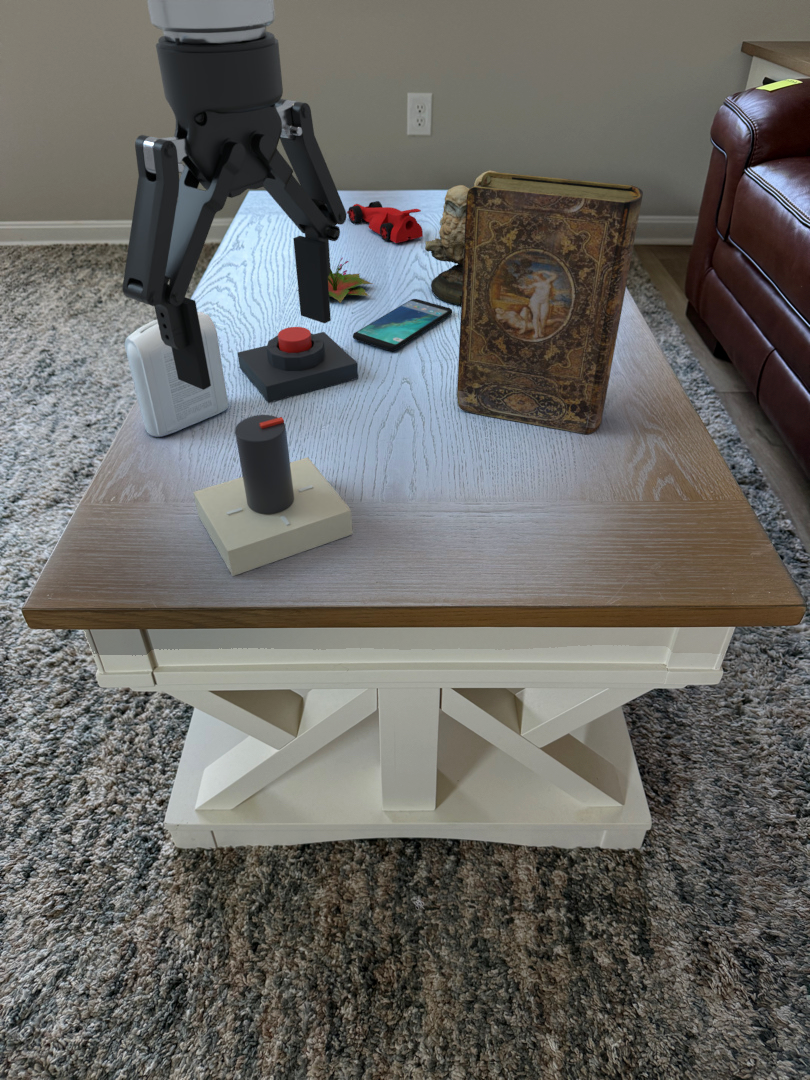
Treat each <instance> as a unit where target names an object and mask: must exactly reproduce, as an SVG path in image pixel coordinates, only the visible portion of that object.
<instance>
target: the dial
mask: <svg viewBox="0 0 810 1080" xmlns="http://www.w3.org/2000/svg"><path fill="white" fill-rule="evenodd" d="M286 427H287V426H286V423H285V420H284V418H283V417H282V416H280V417H277V416H274V415H270V414H258V415H252V416H248V417H246V418H244V419H242V420H241V421H240V422H238V423H237V424H236V426H235V429H234V434H235V438H236V439H235V440H236V446H237V451H238V455H239V456H238V458H239V463H240V464H239V465H240V469H241V475H242V477H243V481H244V487H245V493H246V499H247V504H248V506H249V508H250V509H251V510H253V511H255V512H257V513H260V514H275V513H279V512H282V511H284V510H286V509H287V508H289V507H290V506H291V505H292V503H293V501H294V492H293V484H292V476H291V467H290V462H291V460H290V459H291V458H290V451H289V444H288V435H287V428H286Z"/></svg>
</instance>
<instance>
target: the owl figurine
mask: <svg viewBox="0 0 810 1080" xmlns="http://www.w3.org/2000/svg"><path fill="white" fill-rule="evenodd" d="M487 172H496V171H494V170H492V169H489V170H487V171H484V172H482V173H481V174H479V176H478V177H476V178H475V180H474V184H473V186H481V181H482V177H483V175H484V174H485V173H487ZM469 189H470V187H467V186H466V185H463V184H459V185H455V186H453V187H451V188H449V189H447V191H446V194H445V197H444V204H443V211H442V213H441V214H442V217H441V219H439V225H440V228H439V231H438V234H439V235H438V236H439V237H438V238H436V237H435V238H434V239H432V240H426V241H425V242H424V244H425V246H424V249H425V251H426V252H430V254H431V256H432V257H433V258H434V259H435V260H437V261H439V262H448V263H454V265H453V266H451V267H450V268H449V269H446V270H444V271H442V272H440V273H438V275H437V276H435V277H434V278H433V279H432V281H431V282H430V286H431V287H430V288H431V292H432V294H433V295H434V296H435V298H438V300H439V301H442V302H444V303H448V304H454V305H455V306H461V301H462V281H463V261H464V240H465V220H466V202H467V193H468V191H469Z"/></svg>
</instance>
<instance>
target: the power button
mask: <svg viewBox="0 0 810 1080" xmlns="http://www.w3.org/2000/svg"><path fill="white" fill-rule="evenodd" d="M311 333H312V332H311V330H310V329H308V328H306V327H302V326H289V327H286V328H283V329H281V330H280V331H278V333H277V335H278V341H279V349H280V350H281V351H284V352H287V353H299V352H303V351H307V350H309V349H310V348H311V347H312V342H311Z"/></svg>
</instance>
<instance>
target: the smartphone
mask: <svg viewBox="0 0 810 1080" xmlns="http://www.w3.org/2000/svg"><path fill="white" fill-rule="evenodd" d="M452 314H453V309H452V308H450V307H447V306H444V305H440V304H437V303H433V302H429V301H426V300H422V299H418V298H411V299H409V300H408V301H406V302H405V303H403V304H401V305H399V306H397V307H396V308H394V309H393V310H391V311H389V312H387V313H386V314H384V315H382V316H380V317H379V318H377V319H376V320H374V321H372V322H371V323H369V324H367V325H366V326H364V327H362V328H360V329H359V330H357V331H355V332H354V333H352V337H353V340H355V341H357V342H361V343H363V344H367V345H371V346H374V347H376V348H379V349H382V350H386V351H388V352H389V351H390V352H394V351H396V350H398V349H400V348H401V347H403V346H404V345H405V344H407V343H409V342H410V341H412V340H414V339H415V338H416V337H418V336H420V335H421V334H423V333H424V332H426V331H427V330H429V329H431V328H432V327H434V326H436V325H437V324H438V323H440V322H441V321H443V320H445V319H446V318H448V317H449V316H450V315H452Z"/></svg>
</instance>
